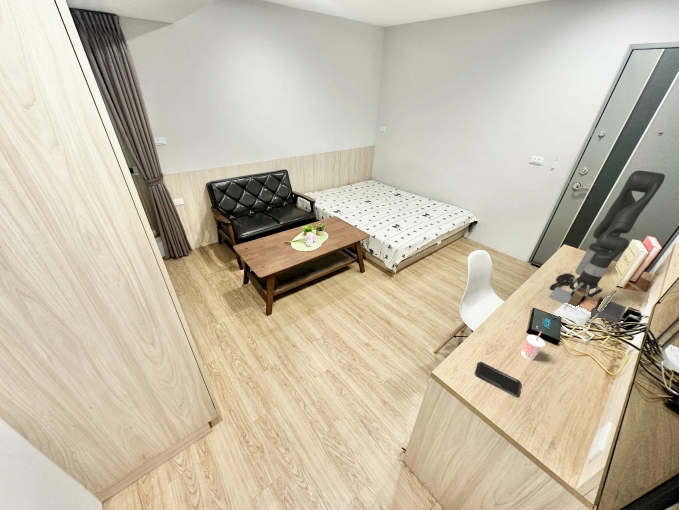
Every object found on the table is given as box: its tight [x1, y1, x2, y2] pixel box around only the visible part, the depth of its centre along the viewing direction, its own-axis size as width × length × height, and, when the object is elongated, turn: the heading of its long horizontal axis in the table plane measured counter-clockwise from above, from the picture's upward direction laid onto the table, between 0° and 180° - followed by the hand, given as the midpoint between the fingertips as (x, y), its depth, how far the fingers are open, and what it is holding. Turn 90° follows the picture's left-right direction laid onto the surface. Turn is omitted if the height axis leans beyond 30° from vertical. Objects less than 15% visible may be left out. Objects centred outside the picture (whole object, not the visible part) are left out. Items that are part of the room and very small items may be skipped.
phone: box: [474, 361, 522, 398], centre depth 99 cm, size 8×1×15 cm
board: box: [548, 286, 592, 312], centre depth 141 cm, size 12×18×2 cm, turn 38°
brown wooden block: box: [568, 288, 586, 307], centre depth 138 cm, size 14×4×6 cm, turn 128°
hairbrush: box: [549, 273, 576, 292], centre depth 156 cm, size 8×4×25 cm
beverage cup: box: [521, 330, 546, 361], centre depth 106 cm, size 6×6×14 cm
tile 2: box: [579, 301, 596, 312], centre depth 134 cm, size 5×5×2 cm
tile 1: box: [585, 296, 598, 306], centre depth 138 cm, size 5×5×2 cm
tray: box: [591, 297, 627, 323], centre depth 131 cm, size 16×10×5 cm, turn 128°
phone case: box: [557, 315, 596, 343], centre depth 124 cm, size 7×1×15 cm
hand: (576, 298), depth 139 cm, fingers closed on brown wooden block, 3 cm apart
